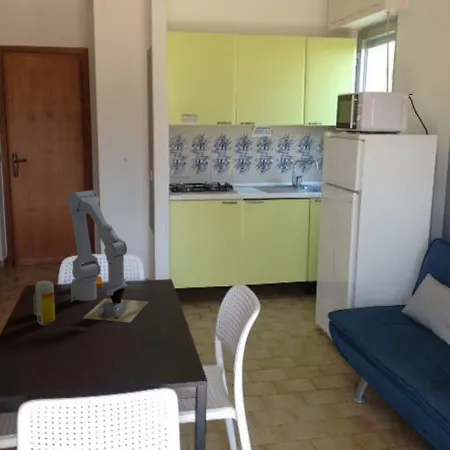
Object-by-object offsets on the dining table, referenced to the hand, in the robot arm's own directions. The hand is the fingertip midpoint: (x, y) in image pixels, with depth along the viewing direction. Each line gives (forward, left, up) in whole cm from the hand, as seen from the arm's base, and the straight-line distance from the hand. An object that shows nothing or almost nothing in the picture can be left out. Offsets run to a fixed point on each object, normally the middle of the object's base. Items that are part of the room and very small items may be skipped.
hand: (116, 307), depth 214 cm
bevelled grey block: (0, -4, -1) cm, 4 cm away
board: (0, 0, -2) cm, 2 cm away
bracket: (-21, +28, -2) cm, 35 cm away
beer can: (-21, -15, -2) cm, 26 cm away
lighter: (-26, -7, -2) cm, 27 cm away
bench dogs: (0, -8, -1) cm, 8 cm away
